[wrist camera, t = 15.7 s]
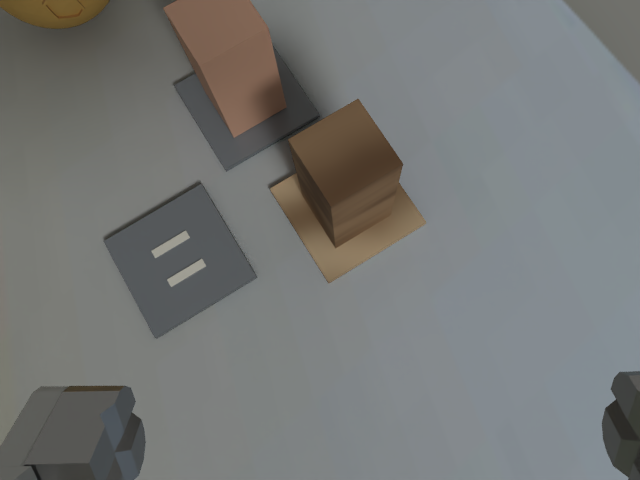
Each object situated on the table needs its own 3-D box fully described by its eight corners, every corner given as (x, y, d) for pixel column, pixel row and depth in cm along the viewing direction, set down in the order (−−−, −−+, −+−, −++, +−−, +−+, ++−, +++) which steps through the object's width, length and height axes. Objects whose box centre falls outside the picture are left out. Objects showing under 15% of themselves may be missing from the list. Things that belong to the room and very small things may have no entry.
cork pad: (270, 190, 42) (269, 188, 42) (364, 134, 43) (364, 132, 42) (328, 283, 40) (328, 282, 40) (425, 223, 41) (426, 222, 40)
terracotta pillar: (204, 90, 44) (163, 7, 34) (256, 61, 44) (229, -30, 34) (234, 137, 43) (199, 66, 33) (286, 107, 43) (268, 27, 33)
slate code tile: (105, 242, 42) (102, 240, 41) (202, 185, 42) (200, 183, 42) (157, 338, 40) (154, 338, 39) (257, 277, 41) (256, 276, 40)
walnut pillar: (302, 196, 41) (288, 139, 32) (356, 164, 42) (358, 98, 32) (335, 248, 40) (331, 206, 31) (390, 215, 41) (403, 163, 31)
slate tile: (175, 87, 44) (173, 84, 44) (265, 36, 45) (264, 32, 44) (226, 171, 42) (224, 169, 42) (319, 116, 43) (319, 113, 43)
